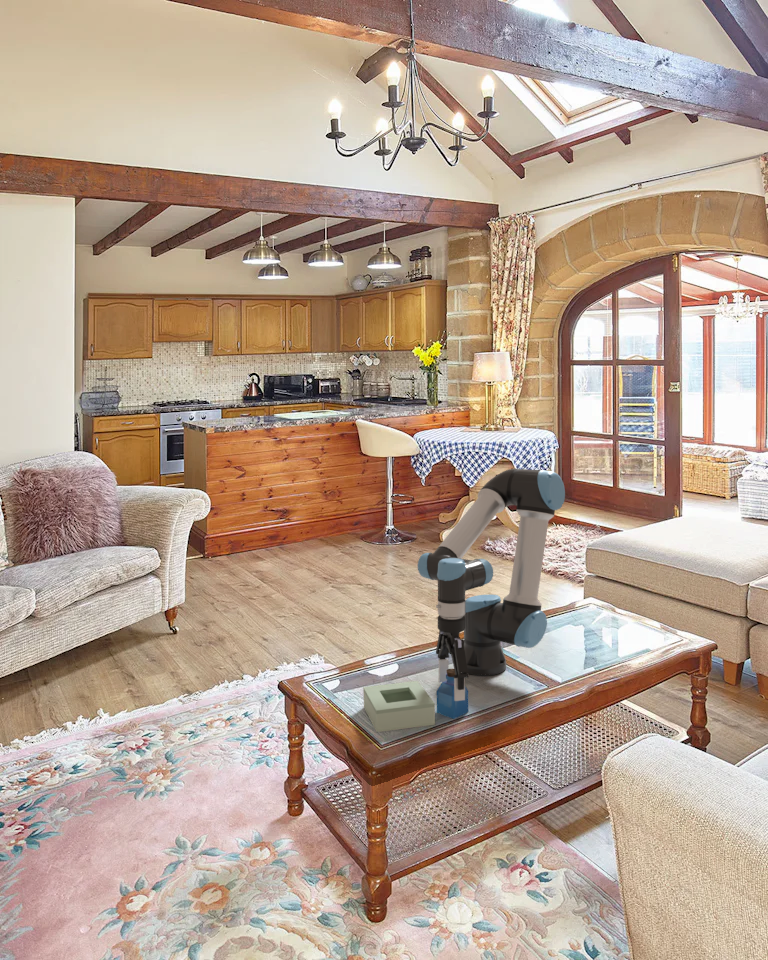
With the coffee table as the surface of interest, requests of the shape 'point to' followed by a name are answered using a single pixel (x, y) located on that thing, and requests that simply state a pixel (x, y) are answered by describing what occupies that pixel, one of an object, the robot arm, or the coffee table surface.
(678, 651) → the coffee table surface
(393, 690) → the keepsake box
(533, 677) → the coffee table surface
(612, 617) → the coffee table surface
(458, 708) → the perfume bottle
